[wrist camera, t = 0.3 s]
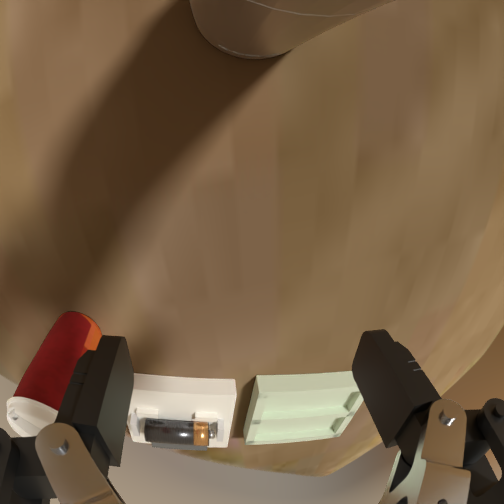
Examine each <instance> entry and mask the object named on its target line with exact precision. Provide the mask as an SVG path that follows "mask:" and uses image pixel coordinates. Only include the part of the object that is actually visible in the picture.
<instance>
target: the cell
mask: <svg viewBox="0 0 504 504" xmlns="http://www.w3.org/2000/svg"><path fill="white" fill-rule="evenodd" d="M144 436H145V441H146V442H155V443H166V444H179V445H195V446H209V439H214V431H213V430H209V423H208V422H185V421H170V420H158V419H148V418H146V420H145V427H144Z"/></svg>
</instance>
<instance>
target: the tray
mask: <svg viewBox="0 0 504 504" xmlns="http://www.w3.org/2000/svg"><path fill="white" fill-rule="evenodd" d="M363 400H364V399H363V397H362V395H361V393H360V391H359V389H358V387H357V385H356V382H355V380H354V378H353V374H352V371H346V372H332V373H317V374H295V375H256V379H255V383H254V387H253V392H252V396H251V400H250V404H249V408H248V412H247V417H246V421H245V425H244V429H243V433H244V441H245V445H255V444H274V443H288V442H299V441H309V440H317V439H325V438H332V437H339V436H340V435H341V433H342V432H343V431H344V429H345V428H346V426H347V425H348V423H349V422H350V420H351V419H352V417H353V416H354V414H355V413H356V411H357V410H358V408H359V406H360V405H361V403H362V402H363Z"/></svg>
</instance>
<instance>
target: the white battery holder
mask: <svg viewBox="0 0 504 504" xmlns="http://www.w3.org/2000/svg"><path fill="white" fill-rule="evenodd" d="M236 396H237V395H236V385H235V379H209V378H188V377H173V376H160V375H149V374H139V373H134V387H133V392H132V397H131V402H130V408H129V413H128V419H127V425H128V428H129V431H130V434H131V437H132V440H133V441H134V442H141V443H150V444H152V447H157V448H169V449H184V450H207V447H227V445H228V440H229V434H230V429H231V423H232V418H233V412H234V407H235V401H236ZM146 418H148V419H158V420H170V421H185V422H208V423H209V430H213V431H214V439H209V446H195V445H179V444H166V443H155V442H146V441H145V436H144V427H145V420H146Z"/></svg>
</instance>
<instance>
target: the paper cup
mask: <svg viewBox="0 0 504 504" xmlns="http://www.w3.org/2000/svg"><path fill="white" fill-rule="evenodd" d="M101 337H102V334H101V331H100V328H99V327H98V325H97V324H96V323H95V322H94V321H93V320H92V319H91V318H89V317H88V316H86V315H84V314H82V313H79V312H66V313H63V314H62V315H61V316H60V317H59V318H58V320H57V321H56V323H55V324H54V326H53V327H52V329H51V330H50V332H49V333H48V335H47V337H46V338H45V340H44V342H43V343H42V345H41V347H40V348H39V350H38V352H37V354H36V355H35V357H34V359H33V360H32V362H31V364H30V365H29V367H28V369H27V370H26V372H25V374H24V376H23V377H22V379H21V381H20V383H19V385H18V387H17V390H16V391H15V394H14V396H13V397H11V398H9V399H8V400H7V403H6V405H7V410H8V412H7V420H8V423H9V424H10V426H11V427H12V428H13V430H14V431H15V432H16V433H18V434H19V435H20V436H21V437H32V436H37V435H38V433H39V432H40V431H41V430H42V429H43V428H44V427H45V426H47V425H49V424H53V423H54V422H55V419H56V417H57V414H58V411H59V408H60V405H61V403H62V400H63V397H64V394H65V392H66V389H67V386H68V384H69V383H70V382H69V381H70V378H71V376H72V374H73V371H74V368H75V366H76V363H77V361H78V359H79V358H80V357H81V356H82V355H83V354H84V353H85V352H86V351H87V350H96V348H97V346H98V343H99V341H100V338H101Z"/></svg>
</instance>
